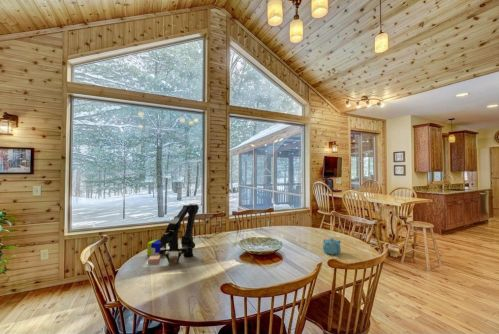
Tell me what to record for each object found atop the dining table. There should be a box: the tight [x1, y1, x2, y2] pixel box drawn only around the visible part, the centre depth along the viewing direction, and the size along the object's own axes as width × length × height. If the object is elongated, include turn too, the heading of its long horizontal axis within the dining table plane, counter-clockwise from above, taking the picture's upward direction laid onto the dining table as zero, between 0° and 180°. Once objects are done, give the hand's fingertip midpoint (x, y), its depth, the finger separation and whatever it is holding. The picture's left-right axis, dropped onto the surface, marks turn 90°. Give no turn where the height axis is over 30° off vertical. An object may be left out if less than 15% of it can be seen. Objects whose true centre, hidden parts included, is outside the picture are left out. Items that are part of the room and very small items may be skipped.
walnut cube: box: [168, 255, 178, 266], centre depth 167 cm, size 5×5×5 cm
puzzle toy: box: [146, 238, 167, 256], centre depth 185 cm, size 10×10×10 cm
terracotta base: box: [147, 255, 161, 264], centre depth 169 cm, size 7×7×3 cm
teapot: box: [322, 237, 342, 256], centre depth 191 cm, size 20×17×12 cm
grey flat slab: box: [142, 257, 169, 268], centre depth 167 cm, size 16×14×1 cm
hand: (173, 262), depth 167 cm, fingers open, 5 cm apart
